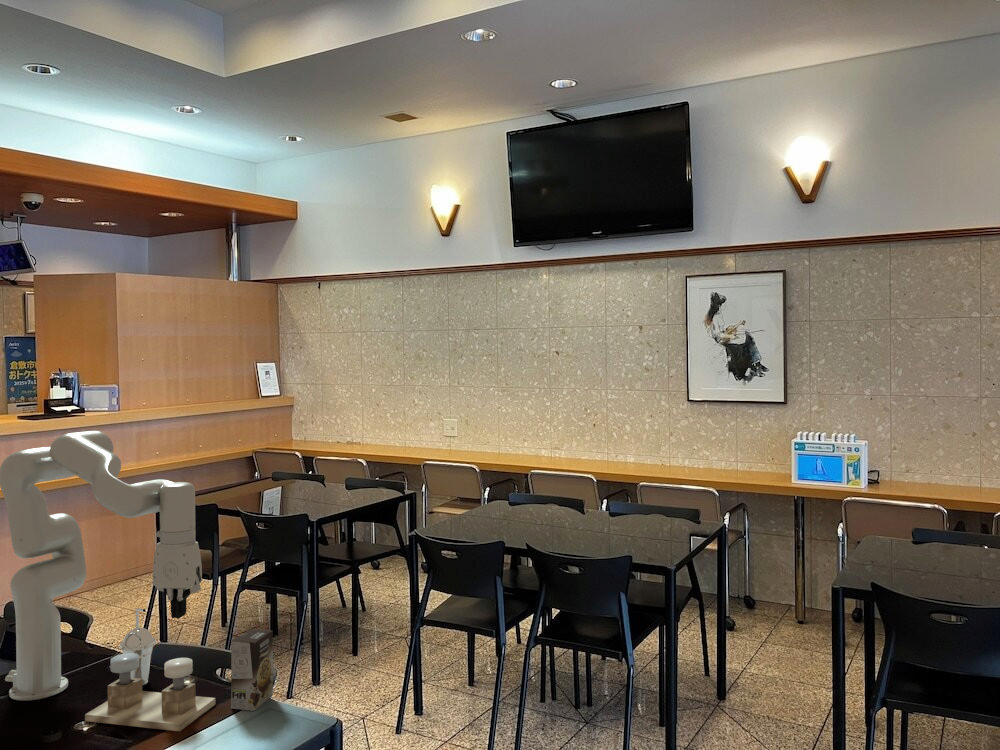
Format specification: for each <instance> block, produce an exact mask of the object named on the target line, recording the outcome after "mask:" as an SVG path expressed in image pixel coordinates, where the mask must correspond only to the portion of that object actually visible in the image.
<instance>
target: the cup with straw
mask: <svg viewBox="0 0 1000 750" xmlns="http://www.w3.org/2000/svg"><path fill="white" fill-rule="evenodd" d="M140 612H142V613H145V612H146V609H145V608H141V607H140V608H139V607H136V609H135V628H133V629H131V630H129V631H128V632H127V633H125V635H124V638H123V640H122V641H121V642H120V643H119V649H120V650H122V654H126V653H135V654H138V655H139V667H138V668H137V669H136V670H133V671H131V678H140V679H142V686H144V685H147V684H148V683H149V676H150V675H149V674H150V668H151V665H150V664H151V659H152V653H153V649H154V646H155V645H156V644H157V641H156V637H154V636H153V634H152V633H151V631H150V630H149V629H146V628H145V627H140V621H139V617H140Z"/></svg>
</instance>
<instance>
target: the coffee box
mask: <svg viewBox="0 0 1000 750" xmlns="http://www.w3.org/2000/svg"><path fill="white" fill-rule="evenodd" d="M273 632H274V630H270V629H251V628H250V629H249V630H247V631H245V632H244V633H242V634H240V635H238V636H237V637H235V638H234V639H233V640H231V643H230V644H231V649H230V651H231V652H230V654H231V655H230V656H231V658H230V659H231V661H230V662H231V665H230V666H231V667H230V670H231V673H230V677H231V678H230V681H231V682H230V683H231V685H230V688H231V689H230V692H231V693H230V696H231V697H230V699H231V701H230V709H234V710H242V711H243V710H244V711H251V712H254V711H256V710H257V709H258V708H260V707H261V706H262V705H264V703H266V702H267V701H268V700H270V698H272V697H273V695H274V658H273V657H274V653H273V652H274V650H273V649H274V648H273V647H274V641H273V640H274V639H273V638H274V634H273Z"/></svg>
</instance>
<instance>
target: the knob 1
mask: <svg viewBox="0 0 1000 750" xmlns="http://www.w3.org/2000/svg"><path fill="white" fill-rule="evenodd" d="M138 667H139V655H138V654H135V653H126V654H123V653H121V654H117V655H115V656H113V657H111V658H110V672H112V673H114V674H118V675H119V678H118V679H119V685H128V684H130V683H131V671H133V670H136V669H137V668H138Z"/></svg>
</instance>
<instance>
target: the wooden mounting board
mask: <svg viewBox="0 0 1000 750" xmlns="http://www.w3.org/2000/svg"><path fill="white" fill-rule="evenodd" d="M215 705H216V697H209V696H197V695H196V683H194V682H193V683H190V682H184V689H182V690H181V691H179V690H173V683H171V684H170V685H169V686H167V687H166V688H165V687H164V688H163V689H162V690H161V692H159V691H158V692H157V691H146V690H143V685H142V679H140V678H131V683H130V684H128V685H119V678H118V679H117V680H115V681H113V682H111V683H110V684H108V685H107V700H106V701H105V702H103V703H102V704H100V705H98V706H97V707H95V708H93V709H91V710H90V711H88V712H87V713H85V714H84V721H85V722H92V723H99V724H100V723H101V724H109V725H119V726H128V727H134V728H135V727H138V728H145V729H146V728H147V729H155V730H163V731H173V732H181V731H182V730H184V729H185V728H186V727H188V726H189V725H190V724H192V723H193V722H195V720H197V719H198V718H199V717H201V716H202V715H203V714H205V713H206V712H208V711H209V710H210V709H211V708H213V707H214V706H215Z"/></svg>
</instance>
